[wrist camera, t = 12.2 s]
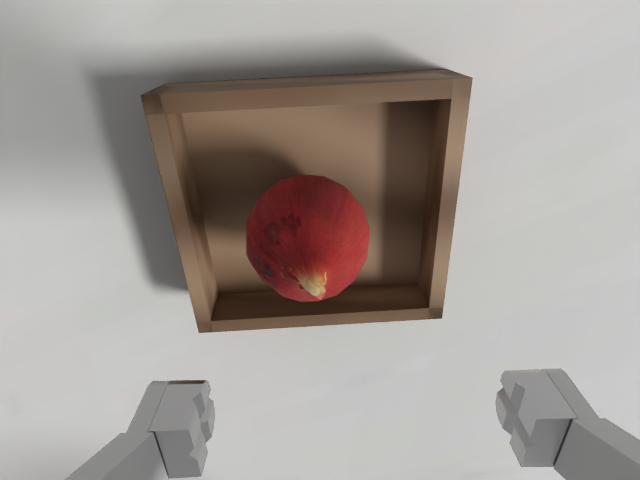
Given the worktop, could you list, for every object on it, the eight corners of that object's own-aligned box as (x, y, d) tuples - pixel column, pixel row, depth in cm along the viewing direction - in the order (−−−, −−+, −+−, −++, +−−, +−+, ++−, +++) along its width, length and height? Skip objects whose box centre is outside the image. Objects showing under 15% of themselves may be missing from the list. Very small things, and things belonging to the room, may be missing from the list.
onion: (255, 249, 24) (234, 346, 17) (252, 152, 21) (227, 218, 14) (354, 252, 24) (375, 348, 17) (364, 157, 21) (395, 225, 14)
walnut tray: (425, 283, 26) (441, 318, 23) (211, 296, 26) (199, 332, 23) (446, 68, 20) (472, 78, 17) (165, 83, 20) (140, 95, 17)
